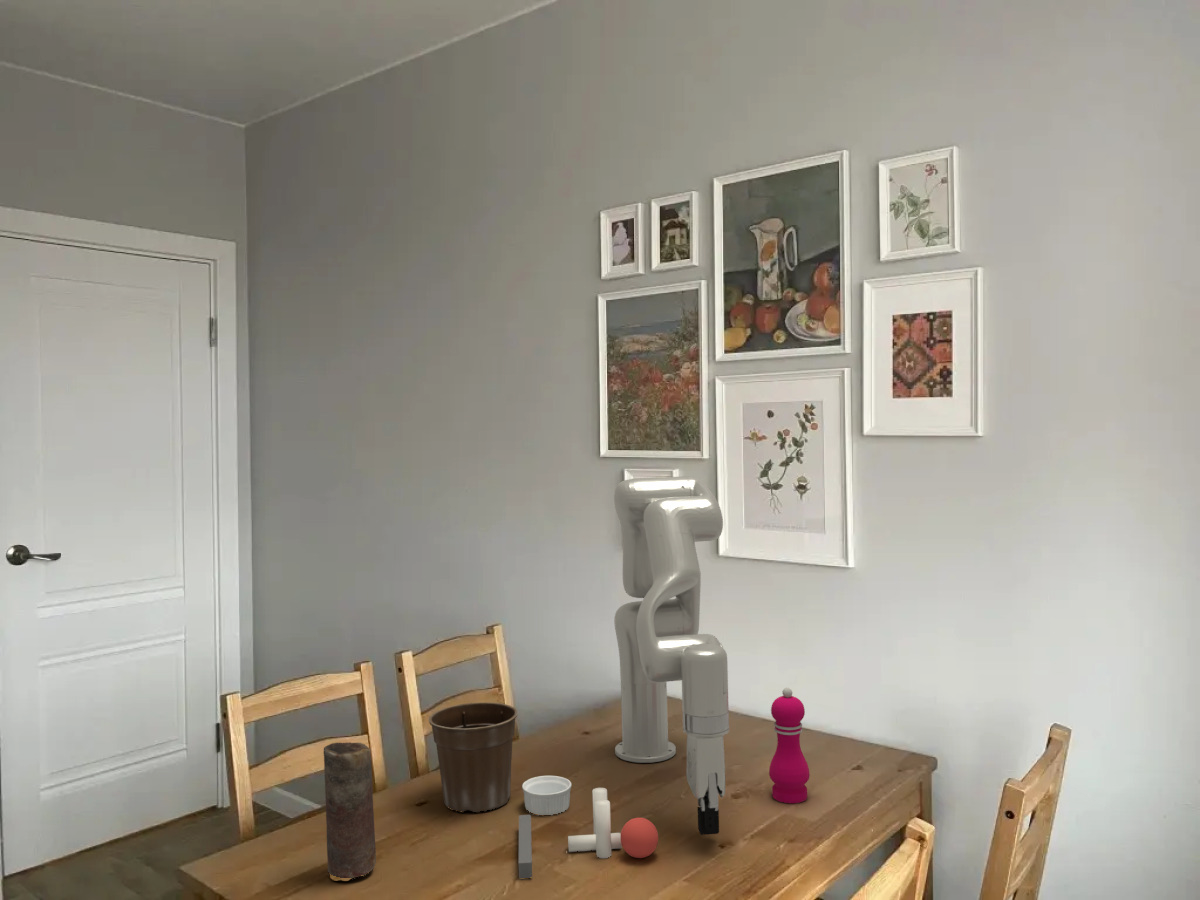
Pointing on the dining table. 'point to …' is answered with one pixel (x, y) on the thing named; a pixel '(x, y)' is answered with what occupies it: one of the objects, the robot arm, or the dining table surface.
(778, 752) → the pepper mill
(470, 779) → the plant pot
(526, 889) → the dining table surface
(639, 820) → the ball
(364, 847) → the candle
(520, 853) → the gray square bar
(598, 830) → the pin
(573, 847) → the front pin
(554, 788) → the ramekin
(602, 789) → the pin
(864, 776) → the dining table surface
